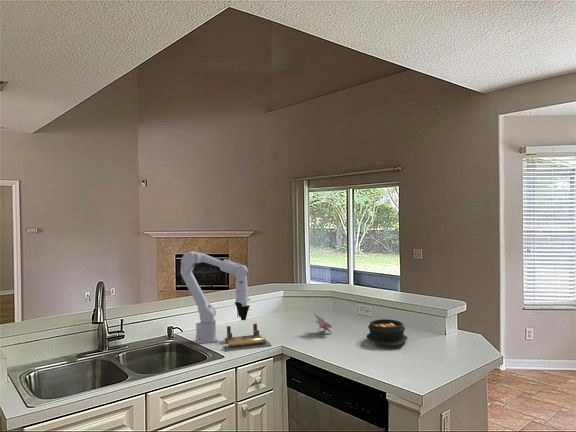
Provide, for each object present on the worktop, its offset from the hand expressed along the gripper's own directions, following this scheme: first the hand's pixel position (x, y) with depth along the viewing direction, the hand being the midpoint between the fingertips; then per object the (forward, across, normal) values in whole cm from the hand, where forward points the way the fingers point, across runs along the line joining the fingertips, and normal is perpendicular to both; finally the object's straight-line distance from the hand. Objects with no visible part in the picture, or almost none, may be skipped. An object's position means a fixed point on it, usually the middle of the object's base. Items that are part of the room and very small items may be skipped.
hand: (242, 318), depth 204 cm
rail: (+8, -11, 0) cm, 14 cm away
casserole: (+10, -26, -64) cm, 69 cm away
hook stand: (+10, -1, 0) cm, 10 cm away
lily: (+10, -4, -40) cm, 41 cm away
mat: (+10, -12, 0) cm, 15 cm away
